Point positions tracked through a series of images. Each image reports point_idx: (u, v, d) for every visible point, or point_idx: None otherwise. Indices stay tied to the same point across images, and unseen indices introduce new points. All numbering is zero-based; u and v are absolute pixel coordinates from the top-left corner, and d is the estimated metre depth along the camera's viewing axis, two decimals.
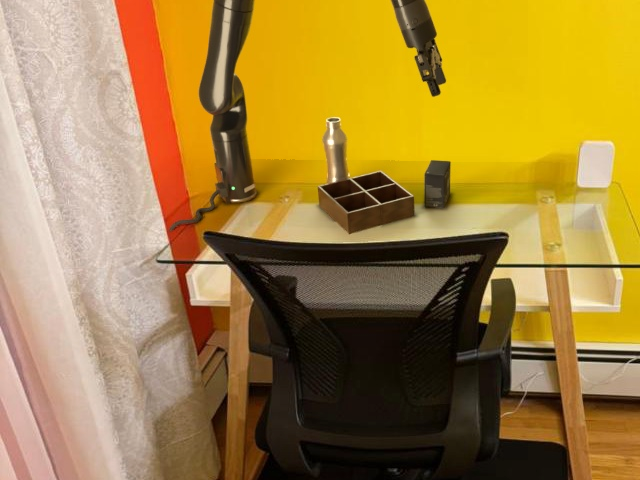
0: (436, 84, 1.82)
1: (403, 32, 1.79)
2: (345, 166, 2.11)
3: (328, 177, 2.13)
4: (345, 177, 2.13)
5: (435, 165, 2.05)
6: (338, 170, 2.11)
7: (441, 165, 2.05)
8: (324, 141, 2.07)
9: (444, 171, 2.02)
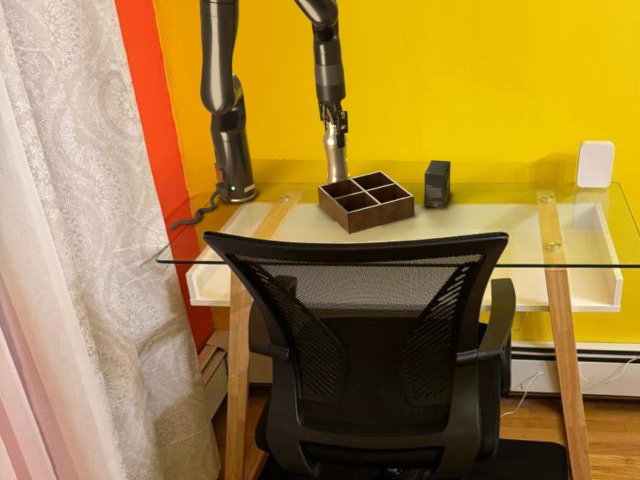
0: (343, 138, 2.05)
1: (324, 87, 1.97)
2: (345, 166, 2.11)
3: (328, 177, 2.13)
4: (345, 177, 2.13)
5: (435, 165, 2.05)
6: (338, 170, 2.11)
7: (441, 165, 2.05)
8: (324, 141, 2.07)
9: (444, 171, 2.02)
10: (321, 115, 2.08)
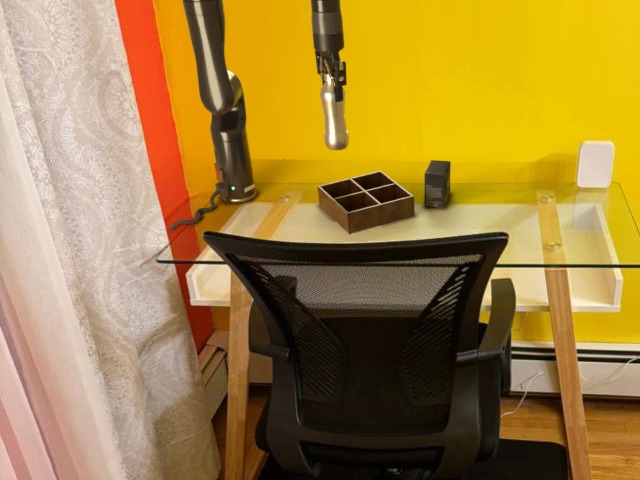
0: (341, 91, 1.97)
1: (321, 36, 1.89)
2: (343, 122, 2.04)
3: (325, 134, 2.05)
4: (343, 133, 2.05)
5: (435, 165, 2.05)
6: (336, 126, 2.03)
7: (441, 165, 2.05)
8: (321, 95, 1.99)
9: (444, 171, 2.02)
10: (318, 68, 2.01)
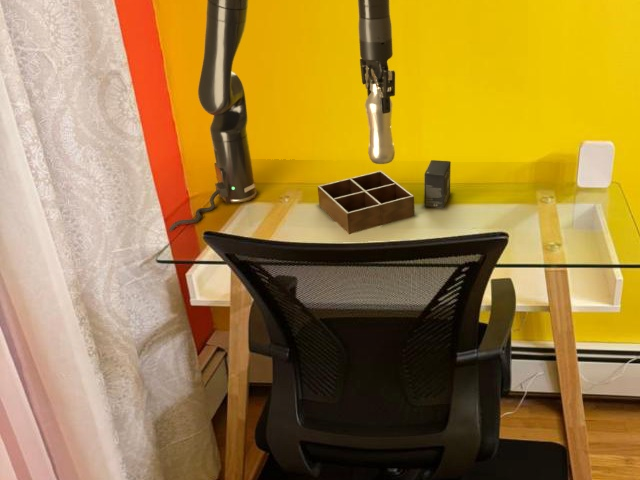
0: None
1: (369, 44, 1.78)
2: (389, 134, 1.93)
3: (370, 146, 1.94)
4: (389, 146, 1.94)
5: (435, 165, 2.05)
6: (382, 138, 1.92)
7: (441, 165, 2.05)
8: (367, 106, 1.88)
9: (444, 171, 2.02)
10: (363, 78, 1.90)
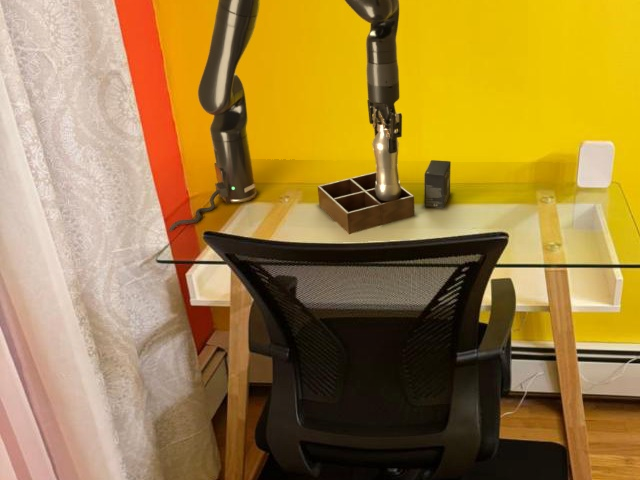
0: None
1: (377, 88, 1.82)
2: (396, 172, 1.97)
3: (377, 184, 1.99)
4: (395, 184, 1.98)
5: (435, 165, 2.05)
6: (388, 176, 1.96)
7: (441, 165, 2.05)
8: (375, 146, 1.92)
9: (444, 171, 2.02)
10: (371, 118, 1.94)
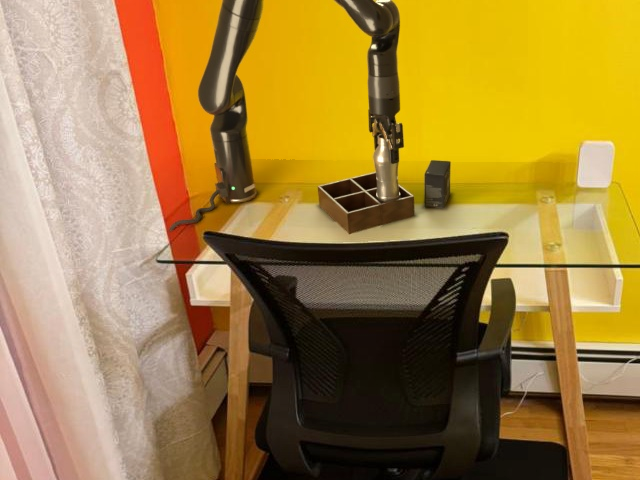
0: None
1: (378, 100, 1.84)
2: (396, 185, 1.99)
3: (378, 196, 2.01)
4: (396, 196, 2.00)
5: (435, 165, 2.05)
6: (389, 189, 1.98)
7: (441, 165, 2.05)
8: (375, 158, 1.94)
9: (444, 171, 2.02)
10: (370, 127, 1.96)
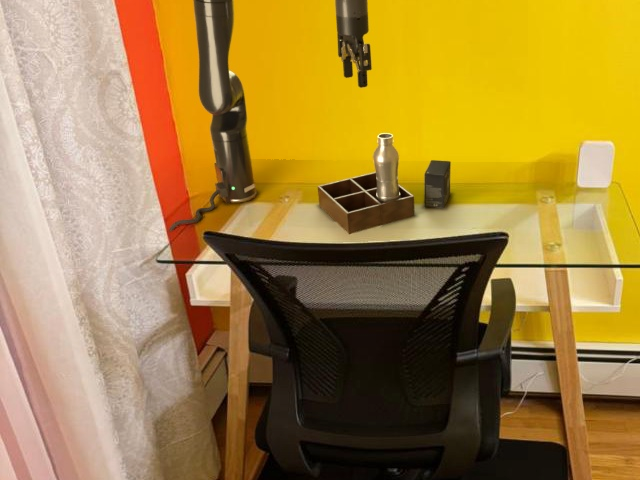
0: None
1: (345, 19, 1.81)
2: (396, 184, 1.99)
3: (378, 196, 2.01)
4: (396, 196, 2.00)
5: (435, 165, 2.05)
6: (389, 189, 1.98)
7: (441, 165, 2.05)
8: (375, 158, 1.94)
9: (444, 171, 2.02)
10: (340, 51, 1.94)
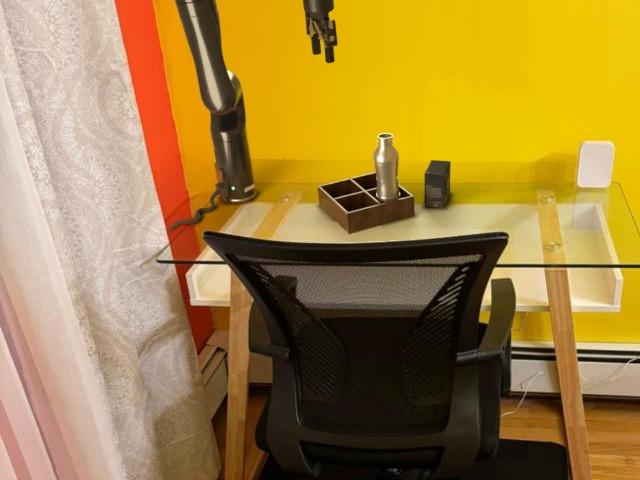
0: (333, 52, 1.96)
1: None
2: (396, 184, 1.99)
3: (378, 196, 2.01)
4: (396, 196, 2.00)
5: (435, 165, 2.05)
6: (389, 189, 1.98)
7: (441, 165, 2.05)
8: (375, 158, 1.94)
9: (444, 171, 2.02)
10: (308, 29, 2.01)
